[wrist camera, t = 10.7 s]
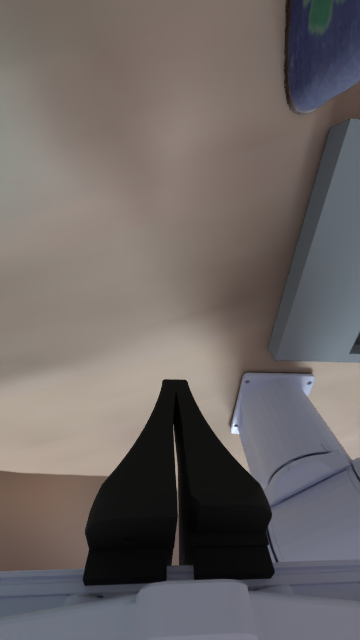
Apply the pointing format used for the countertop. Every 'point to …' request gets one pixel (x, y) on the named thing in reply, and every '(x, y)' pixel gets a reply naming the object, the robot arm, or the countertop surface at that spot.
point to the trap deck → (326, 262)
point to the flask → (320, 51)
